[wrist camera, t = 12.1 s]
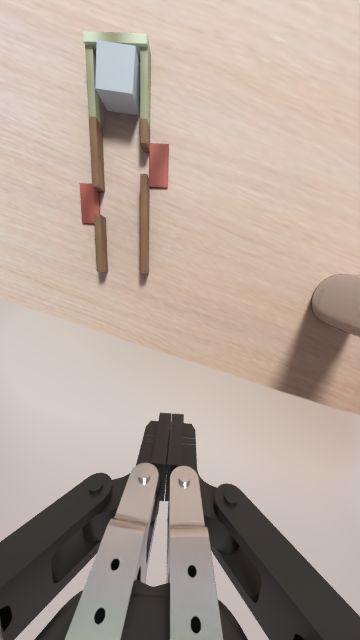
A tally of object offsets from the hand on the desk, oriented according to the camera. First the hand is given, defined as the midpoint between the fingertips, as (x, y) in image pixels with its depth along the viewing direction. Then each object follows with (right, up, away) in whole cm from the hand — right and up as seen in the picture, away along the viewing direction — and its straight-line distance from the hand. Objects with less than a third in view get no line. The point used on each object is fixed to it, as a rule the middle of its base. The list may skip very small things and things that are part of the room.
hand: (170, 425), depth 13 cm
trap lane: (-9, +30, +22) cm, 38 cm away
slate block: (-8, +41, +19) cm, 46 cm away
